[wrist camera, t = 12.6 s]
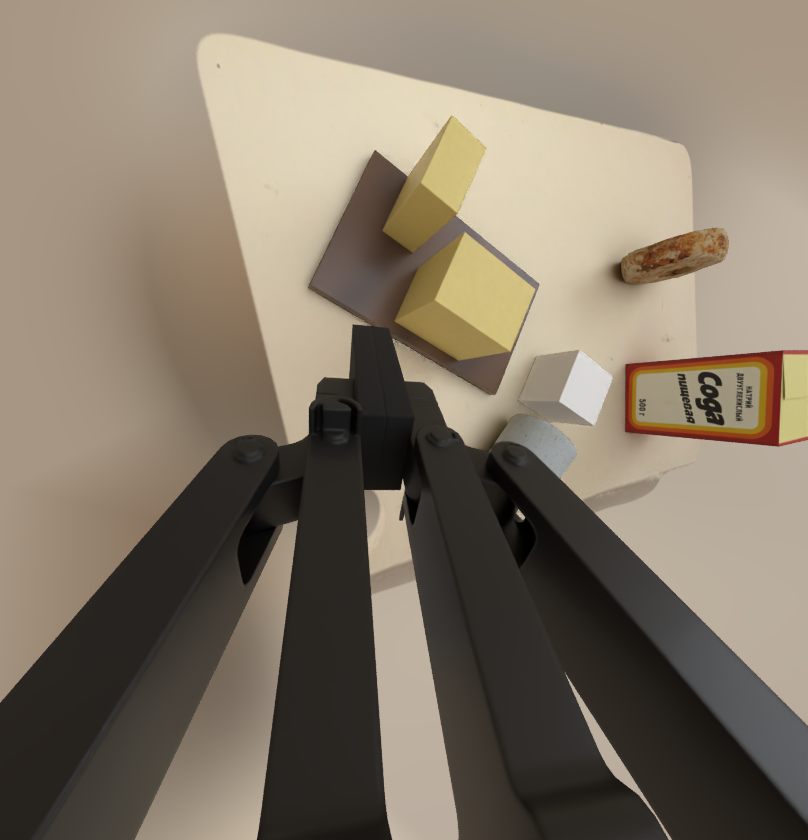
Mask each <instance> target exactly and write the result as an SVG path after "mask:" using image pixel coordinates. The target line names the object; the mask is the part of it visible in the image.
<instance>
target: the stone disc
mask: <svg viewBox="0 0 808 840" xmlns="http://www.w3.org/2000/svg"><path fill="white" fill-rule="evenodd" d="M728 245H729V240H728V236H727V233H726V231H725V230H724V229H723V228H711V229H704V230H700V231H694V232H690V233H687V234H683V235H679V236H676V237H673V238H669V239H666V240H663V241H661V242H658V243H655V244H653V245H650V246H647V247H645V248H641V249H638V250H635V251H633V252H631V253H629V254H628V256H626V257H624V258H623V259H622V262H621V270H622V276H623V278H624V280H625V282H627V283H632V284H643V283H653V282H658V281H663V280H667V279H672V278H677V277H680V276H683V275H686V274H689V273H692V272H695V271H698V270H700V269H702V268H705V267H708V266H711V265H714V264H717V263H719V262H722V261H723V260H724V259H725V257H726V255H727V252H728Z"/></svg>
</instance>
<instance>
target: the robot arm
mask: <svg viewBox="0 0 808 840" xmlns="http://www.w3.org/2000/svg"><path fill="white" fill-rule="evenodd" d="M435 399H436V398H435V396H434V393H433V391H432V389H430V388H429V387H428V386H427V385H426V384H425V383H422V382H407V381H404V378H403V375H402V371H401V368H400V364H399V361H398V357H397V354H396V351H395V347H394V344H393V340H392V337H391V333H390V330H389V328H385V327H374V326H363V325H353V328H352V343H351V358H350V373H349V379H342V378H326V377H324V378H323V379H322V380H321V381H320V382H319V383H318V384H317V392H316V400H315V401H313V402H312V403H311V405H310V407H309V434H308V436H307V437H305V438H304V439H302V440H300V441H298V442H296V443H293V444H289V445H284V446H279V447H278V446H277V444H276V443H275V442H274V441H273V440H272V439H270V438H268V437H265V436H261V435H246V436H241V437H237V438H235V439H233V440H230V441H228V442H227V443H226V444H224V445H223V446H222V447H221V448H220V449H219V450H218V451H217V452H216V454H215V455H214V456H213V457H212V458H211V459H210V461H209V462H208V463H207V464H206V465H205V466H204V467H203V469H202V470H201V471H200V472H199V473H198V474H197V476H196V477H195V478H194V479H193V480H192V481H191V483H190V484H189V485H188V486H187V487H186V488H185V490H184V491H183V492H182V493H181V494H180V495H179V496H178V498H177V499H176V500H175V501H174V502H173V503H172V505H171V506H170V507H169V508H168V509H167V510H166V511H165V513H164V514H163V515H162V516H161V517H160V519H159V520H158V521H157V522H156V523H155V524H154V525H153V527H152V528H151V529H150V530H149V531H148V532H147V534H146V535H145V536H144V537H143V538H142V539H141V541H140V542H139V543H138V544H137V545H136V546H135V547H134V549H133V550H132V551H131V552H130V553H129V554H128V556H127V557H126V558H125V559H124V560H123V561H122V562H121V564H120V565H119V566H118V567H117V568H116V569H115V571H114V572H113V573H112V574H111V575H110V576H109V578H108V579H107V580H106V581H105V582H104V583H103V585H102V586H101V587H100V588H99V589H98V590H97V592H96V593H95V594H94V595H93V596H92V597H91V599H90V600H89V601H88V602H87V603H86V604H85V605H84V607H83V608H82V609H81V610H80V611H79V612H78V613H77V615H76V616H75V617H74V618H73V619H72V621H71V622H70V623H69V624H68V625H67V626H66V627H65V629H64V630H63V631H62V632H61V633H60V634H59V636H58V637H57V638H56V639H55V640H54V641H53V643H52V644H51V645H50V646H49V647H48V648H47V650H46V651H45V652H44V653H43V654H42V655H41V656H40V658H39V659H38V660H37V661H36V662H35V663H34V664H33V666H32V667H31V668H30V669H29V670H28V671H27V673H26V674H25V675H24V676H23V677H22V678H21V680H20V681H19V682H18V683H17V684H16V685H15V687H14V688H13V689H12V690H11V691H10V692H9V694H8V695H7V696H6V697H5V698H4V699H3V700H2V702H1V703H0V840H135V838H136V835H137V833H138V831H139V829H140V827H141V825H142V823H143V820H144V819H145V817H146V814H147V812H148V810H149V808H150V806H151V804H152V802H153V800H154V798H155V795H156V793H157V791H158V789H159V787H160V785H161V782H162V781H163V779H164V776H165V774H166V772H167V770H168V768H169V766H170V764H171V762H172V760H173V758H174V755H175V753H176V751H177V749H178V747H179V745H180V743H181V741H182V738H183V736H184V734H185V732H186V730H187V728H188V726H189V724H190V722H191V720H192V717H193V716H194V713H195V711H196V709H197V707H198V705H199V703H200V701H201V699H202V697H203V695H204V692H205V690H206V688H207V686H208V684H209V682H210V680H211V678H212V676H213V673H214V671H215V669H216V667H217V665H218V663H219V661H220V659H221V657H222V654H223V652H224V650H225V648H226V646H227V644H228V642H229V640H230V638H231V636H232V633H233V631H234V629H235V627H236V625H237V623H238V621H239V619H240V616H241V615H242V612H243V610H244V608H245V606H246V604H247V602H248V600H249V598H250V595H251V593H252V591H253V589H254V587H255V585H256V583H257V581H258V579H259V577H260V575H261V572H262V570H263V568H264V566H265V564H266V562H267V560H268V558H269V556H270V554H271V551H272V549H273V547H274V545H275V543H276V541H277V539H278V536H279V535H280V533H281V530H282V527H283V524H286V523H290V522H293V521H297V520H298V526H297V534H296V542H295V550H294V557H293V565H292V573H291V581H290V589H289V597H288V605H287V612H286V620H285V629H284V636H283V645H282V652H281V660H280V668H279V676H278V684H277V692H276V700H275V707H274V715H273V723H272V731H271V739H270V747H269V755H268V763H267V771H266V778H265V787H264V795H263V802H262V810H261V817H260V824H259V831H258V836H257V840H392V837H391V833H390V828H389V824H388V819H387V812H386V805H385V792H384V778H383V766H382V765H383V763H382V749H381V734H380V719H379V704H378V689H377V675H376V660H375V646H374V631H373V616H372V601H371V586H370V571H369V556H368V542H367V527H366V513H365V497H364V490H401V484H402V479H403V481H404V486H405V491H404V496H403V501H402V506H401V510H400V517H399V520H403V517H404V513H405V519H406V525H407V531H408V536H409V542H410V548H411V553H412V559H413V565H414V571H415V576H416V582H417V587H418V594H419V599H420V605H421V611H422V616H423V622H424V628H425V634H426V640H427V645H428V651H429V656H430V662H431V668H432V674H433V679H434V685H435V691H436V697H437V703H438V708H439V714H440V720H441V726H442V731H443V737H444V743H445V749H446V754H447V759H448V766H449V771H450V777H451V783H452V789H453V794H454V800H455V806H456V812H457V819H458V830H459V839H458V840H668V838H667V836H666V834H665V833H664V831H663V829H662V827H661V826H660V824H659V822H658V820H657V819H656V817H655V815H654V814H653V813H652V812H651V810H650V809H649V808H648V807H647V805H646V804H645V803H644V802H643V800H642V799H641V798H640V796H639V795H638V794H636V793H635V792H634V791H633V790H631V789H630V788H628V787H627V786H626V785H625V784H623V783H622V782H621V781H619V780H618V779H617V778H616V777H615V776H614V775H613V774H612V772H611V771H610V770H609V768H608V767H607V766H606V764H605V762H604V760H603V758H602V756H601V754H600V752H599V750H598V748H597V745H596V743H595V741H594V739H593V736H592V734H591V732H590V730H589V727H588V725H587V723H586V720H585V718H584V716H583V714H582V711H581V709H580V707H579V704H578V702H577V700H576V697H575V695H574V693H573V691H572V688H571V686H570V684H569V681H568V679H567V677H566V675H567V676H568V678H569V679H570V681H571V682H572V684H573V686H574V687H575V689H576V690H577V692H578V693H579V695H580V697H581V698H582V699H583V701H584V703H585V704H586V706H587V707H588V709H589V710H590V712H591V714H592V715H593V716H594V718H595V720H596V721H597V723H598V725H599V726H600V728H601V729H602V731H603V732H604V734H605V736H606V737H607V739H608V740H609V742H610V743H611V745H612V746H613V748H614V750H615V751H616V753H617V754H618V756H619V757H620V759H621V761H622V762H623V764H624V765H625V767H626V768H627V770H628V771H629V773H630V774H631V776H632V778H633V779H634V781H635V782H636V784H637V785H638V787H639V788H640V790H641V792H642V793H643V795H644V796H645V798H646V799H647V801H648V802H649V804H650V806H651V807H652V809H653V810H654V812H655V813H656V815H657V817H658V818H659V820H660V821H661V823H662V824H663V826H664V828H665V829H666V831H667V832H668V834H669V835H670V837H671V838H672V840H808V726H807V725H806V724H805V723H804V722H803V721H802V720H801V719H800V718H799V717H798V716H797V715H796V714H795V713H794V712H793V711H792V710H791V709H790V708H789V707H788V706H787V705H786V704H785V703H784V702H783V701H782V700H781V699H780V698H779V697H778V696H777V695H776V694H775V693H774V692H773V691H772V690H771V689H770V688H769V687H768V686H767V685H766V684H765V683H764V682H763V681H762V680H761V679H760V678H759V677H758V676H757V675H756V674H755V673H754V672H753V671H752V670H751V669H750V668H749V667H748V666H747V665H746V664H745V663H744V662H743V661H742V660H741V659H740V658H739V657H738V656H737V655H736V654H735V653H734V652H733V651H732V650H731V649H730V648H729V647H728V646H727V645H726V644H725V643H724V642H723V641H722V640H721V639H720V638H719V637H718V636H717V635H716V634H715V633H714V632H713V631H712V630H711V629H710V628H709V627H708V626H707V625H706V624H705V623H704V622H703V621H702V620H701V619H700V618H699V617H698V616H697V615H696V614H695V613H694V612H693V611H692V610H691V609H690V608H689V607H688V606H687V605H686V604H685V603H684V602H683V601H682V600H681V599H680V598H679V597H678V596H677V595H676V594H675V593H674V592H673V591H672V590H671V589H670V588H669V587H668V586H667V585H666V584H665V583H664V582H663V581H662V580H661V579H660V578H659V577H658V576H657V575H656V574H655V573H654V572H653V571H652V570H651V569H650V568H649V567H648V566H647V565H646V564H645V563H644V562H643V561H642V560H641V559H640V558H639V557H638V556H637V555H636V554H635V553H634V552H633V551H632V550H631V549H630V548H629V547H628V546H627V545H626V544H625V543H624V542H623V541H622V540H621V539H620V538H619V537H618V536H617V535H615V533H614V532H613V531H612V530H611V529H610V528H609V527H608V526H607V525H606V524H605V523H604V522H603V521H602V520H601V519H600V518H599V517H598V516H597V515H596V514H595V513H594V512H593V511H592V510H591V509H590V508H589V507H588V506H587V505H586V504H585V503H584V502H583V501H582V500H581V499H580V498H579V497H578V496H577V495H576V494H575V493H574V492H573V491H572V490H571V489H570V488H569V487H568V486H567V485H566V484H565V483H564V482H563V481H562V480H561V479H560V478H559V477H558V476H557V475H556V474H555V473H554V472H553V471H552V470H551V469H550V468H549V467H548V466H547V465H546V464H545V463H544V462H542V461H541V460H540V459H539V458H538V457H537V456H536V455H535V454H534V453H533V452H532V451H531V450H529V449H528V448H527V447H525V446H523V445H520V444H518V443H514V442H510V441H501V442H498V443H495V444H494V445H493V446H492V448H491V450H490V452H487V451H483V450H479V449H475V448H471V447H468V446H466V445H465V444H464V442H463V440H462V438H461V437H460V435H459V434H458V433H457V432H455V431H454V430H453V429H451V428H448V427H447V425H446V423H445V420H444V418H443V416H442V413H441V411H440V408H439V407H438V403H437V401H436V400H435ZM518 509H519V510H520V511H521V512H522V514H523V515H524V516H525V519H524V520H522V519H521V518H520V517H519V516H518V515H517V514H516V513H517V511H518ZM565 673H566V675H565Z"/></svg>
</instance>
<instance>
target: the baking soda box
mask: <svg viewBox="0 0 808 840" xmlns="http://www.w3.org/2000/svg"><path fill="white" fill-rule="evenodd" d="M625 432H629V433H640V434H651V435H661V436H672V437H683V438H693V439H705V440H715V441H725V442H737V443H747V444H757V445H758V444H759V445H769V446H783V445H788V444H792V443H796V442H801V441H805V440H808V350H799V351H798V350H792V351H791V350H788V351H787V350H783V351H771V352H761V353H749V354H737V355H726V356H714V357H703V358H691V359H680V360H668V361H657V362H645V363H634V364H626V426H625Z"/></svg>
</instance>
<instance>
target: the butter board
mask: <svg viewBox="0 0 808 840" xmlns="http://www.w3.org/2000/svg"><path fill="white" fill-rule="evenodd" d="M406 179H407V176H406V175H405V174H404V173H403V172H401V171H400V170H399V169H398V168H396V167H395V166H394V165H393V164H392V163H390V162H389V161H388V160H387V159H385V158H384V157H383V156H382V155H381V154H379V153H378V152H377V151H376V150H375V151H374V152H373V154H372V156H371V158H370V161H369V163H368V165H367V167H366V169H365V171H364V173H363V175H362V177H361V179H360V181H359V183H358V185H357V187H356V190H355V192H354V194H353V196H352V198H351V200H350V202H349V204H348V206H347V208H346V210H345V212H344V214H343V217H342V219H341V221H340V223H339V225H338V227H337V229H336V231H335V233H334V235H333V237H332V239H331V241H330V243H329V246H328V248H327V250H326V252H325V254H324V256H323V258H322V260H321V262H320V264H319V266H318V268H317V270H316V272H315V275H314V277H313V279H312V281H311V283H310V285H309V287H308V288H310V289H311V290H313V291H315V292H316V293H318V294H320V295H321V296H323V297H325V298H327V299H328V300H330V301H332V302H333V303H335V304H337V305H338V306H340V307H342V308H344V309H345V310H347V311H349V312H350V313H352V314H354V315H356V316H357V317H359V318H361V319H362V320H364V321H366V322H367V323H369V324H371V325H373V326H374V327H385V328H389V330H390V333H391V337H393V338H395V339H396V340H398V341H400V342H402V343H403V344H405V345H407V346H408V347H410V348H412V349H413V350H415V351H417V352H419V353H420V354H422V355H424V356H425V357H427V358H429V359H430V360H432V361H434V362H436V363H437V364H439V365H441V366H442V367H444V368H446V369H448V370H449V371H451V372H453V373H454V374H456V375H458V376H459V377H461V378H463V379H465V380H466V381H468V382H470V383H471V384H473V385H475V386H476V387H478V388H480V389H482V390H483V391H485V392H487V393H488V394H490V395H495V394H496V393H497V390H498V388H499V385H500V383H501V380H502V378H503V375H504V373H505V370H506V368H507V365H508V363H509V360H510V357H511V355H512V352H513V350H514V347H515V345H516V342H517V340H518V337H519V335H520V332H521V330H522V327H523V325H524V322H525V320H526V317H527V315H528V312H529V310H530V307H531V305H532V302H533V300H534V297H535V295H536V292H537V290H538V287H539V283H537V282H536V281H535V280H534V279H532V278H531V277H530V276H529V275H528V274H526V273H525V272H524V271H523V270H521V269H520V268H519V267H518V266H516V265H515V264H514V263H513V262H512V261H510V260H509V259H508V258H507V257H505V256H504V255H503V254H502V253H501V252H499V251H498V250H497V249H496V248H494V247H493V246H492V245H491V244H490V243H488V242H487V241H486V240H485V239H483V238H482V237H481V236H480V235H479V234H477V233H476V232H475V231H474V230H472V229H471V228H470V227H469V226H467V225H466V224H465V223H464V222H463V221H461V220H460V219H459V218H458V217H456V216H454V217H453V218H452V219H451V220H450V221H448V222H447V223H446V224H445V225H444V226H443V227H442V228H441V229H439V230H438V231H437V232H436V233H435V234H434V235H433V236H432V237H430V238H429V239H428V240H427V241H426V242H425V243H424V244H422V245H421V246H420V247H419V248H418V249H417V250H416V251H415V252H413V253H412V252H411V251H409V250H408V249H407V248H405V247H404V246H402V245H401V244H400V243H398V242H397V241H396V240H394V239H393V238H391V237H390V236H389V235H387V234H386V233H384V232H383V228H384V226H385V224H386V222H387V219H388V217H389V215H390V213H391V211H392V209H393V207H394V205H395V202H396V200H397V198H398V196H399V194H400V192H401V190H402V188H403V186H404V183H405V181H406ZM464 232H466V233H467V234H468V235H469V236H470V237H472V238H473V239H474V240H475V241H477V242H478V243H479V244H480V245H482V246H483V247H484V248H485V249H486V250H488V251H489V252H490V253H491V254H493V255H494V256H495V257H496V258H498V259H499V260H500V261H501V262H502V263H504V264H505V265H506V266H507V267H509V268H510V269H511V270H512V271H514V272H515V273H516V274H517V275H519V276H520V277H521V278H522V279H523V280H525V281H526V282H527V283H528V284H530V285H531V286H532V287H533V288H535V292H534V295H533V297H532V299H531V302H530V304H529V307H528V309H527V312H526V314H525V317H524V319H523V322H522V324H521V327H520V329H519V332H518V334H517V337H516V339H515V342H514V344H513V346H512V349H511V351H510V352H505V353H500V354H494V355H488V356H482V357H477V358H471V359H465V360H460V361H458V360H456V359H455V358H453V357H452V356H450V355H448V354H447V353H445V352H443V351H442V350H440V349H439V348H437V347H435V346H434V345H432V344H430V343H429V342H427V341H426V340H424V339H422V338H421V337H419V336H417V335H416V334H414V333H413V332H411V331H409V330H408V329H406V328H404V327H403V326H401V325H400V324H398V323H396V322H395V319H396V316H397V314H398V312H399V310H400V307H401V305H402V303H403V301H404V299H405V296H406V294H407V292H408V290H409V287H410V285H411V283H412V281H413V279H414V276H415V274H416V272H417V270H418V268H419V267H420V266H421V265H422V264H424V263H425V262H426V261H427V260H429V259H430V258H431V257H433V256H434V255H435V254H437V253H438V252H439V251H440V250H442V249H443V248H444V247H446V246H447V245H448V244H449V243H451V242H452V241H453V240H455V239H456V238H457V237H459V236H460V235H461V234H462V233H464Z"/></svg>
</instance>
